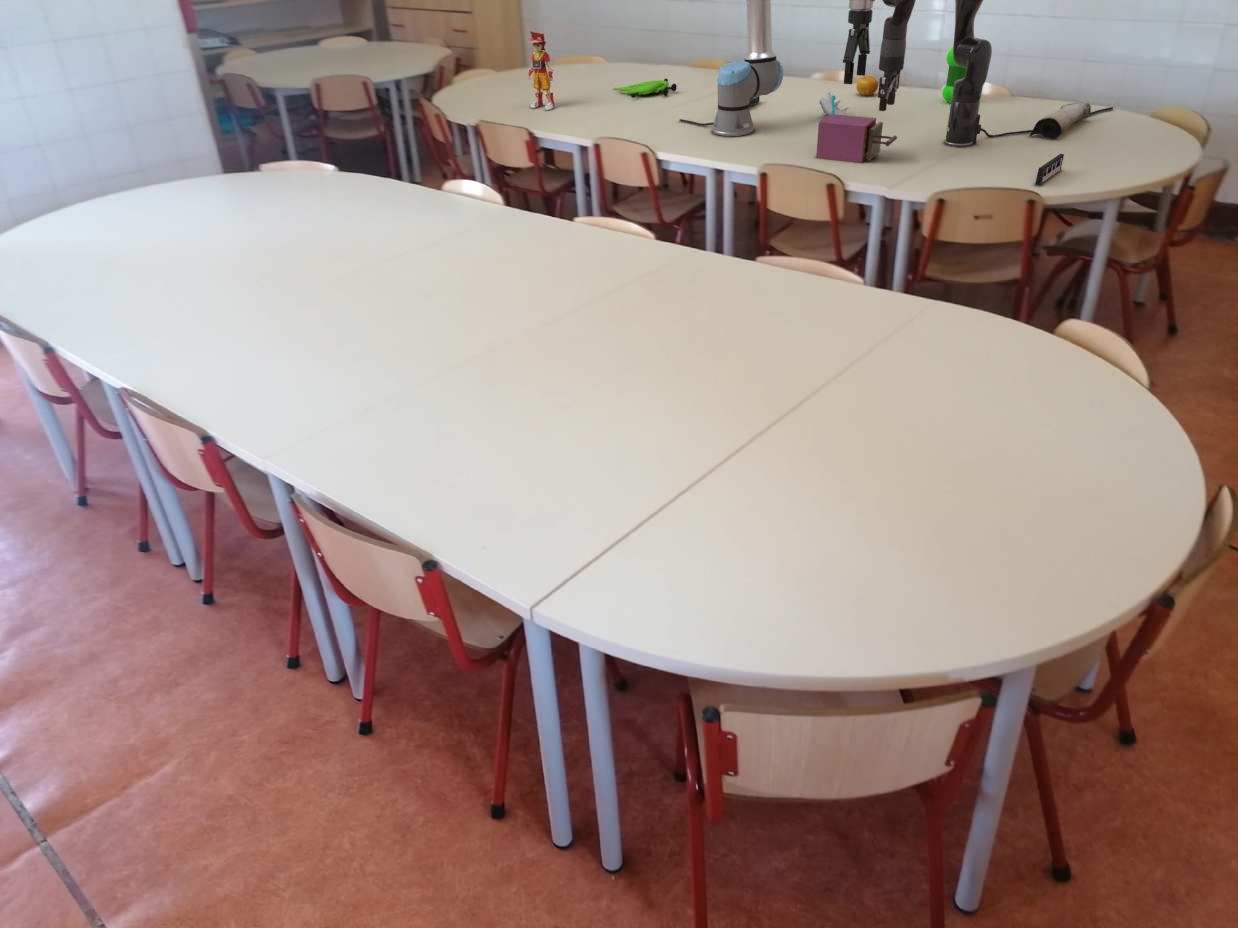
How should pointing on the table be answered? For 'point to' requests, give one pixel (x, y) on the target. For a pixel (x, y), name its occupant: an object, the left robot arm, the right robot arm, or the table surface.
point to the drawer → (875, 140)
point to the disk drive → (753, 101)
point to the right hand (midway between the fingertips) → (886, 107)
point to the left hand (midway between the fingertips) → (854, 79)
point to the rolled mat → (1061, 120)
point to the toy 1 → (541, 71)
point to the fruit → (867, 85)
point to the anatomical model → (831, 105)
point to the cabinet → (842, 137)
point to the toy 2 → (648, 88)
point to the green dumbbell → (952, 76)
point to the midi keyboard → (1049, 169)
